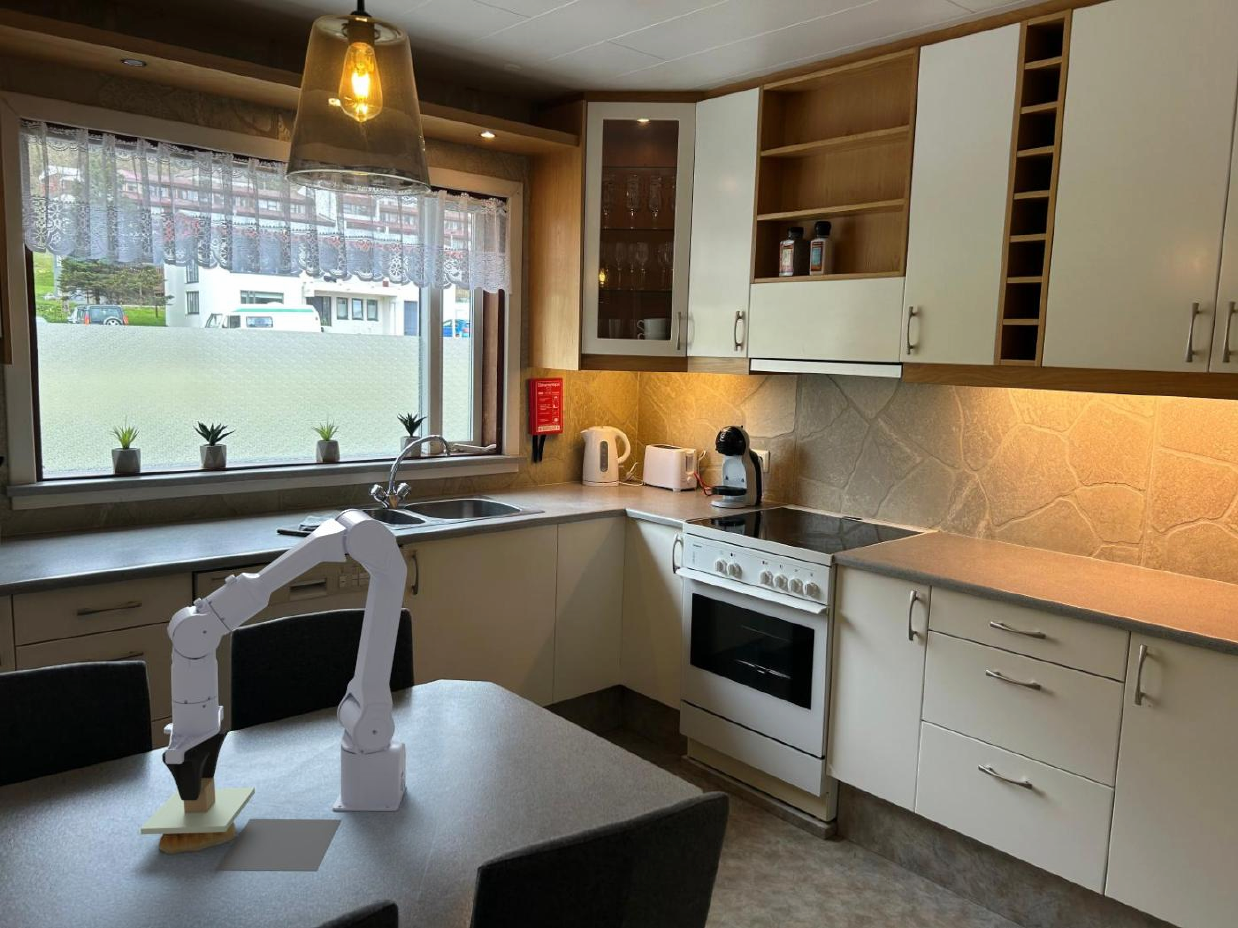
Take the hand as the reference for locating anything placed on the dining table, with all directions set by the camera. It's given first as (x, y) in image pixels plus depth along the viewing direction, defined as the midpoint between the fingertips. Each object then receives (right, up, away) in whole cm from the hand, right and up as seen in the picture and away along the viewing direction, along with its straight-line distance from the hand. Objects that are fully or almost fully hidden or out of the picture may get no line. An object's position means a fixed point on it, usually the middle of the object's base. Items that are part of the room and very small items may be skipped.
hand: (197, 790), depth 126 cm
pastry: (+1, -7, 0) cm, 7 cm away
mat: (+12, -7, 0) cm, 14 cm away
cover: (0, -3, 0) cm, 3 cm away
